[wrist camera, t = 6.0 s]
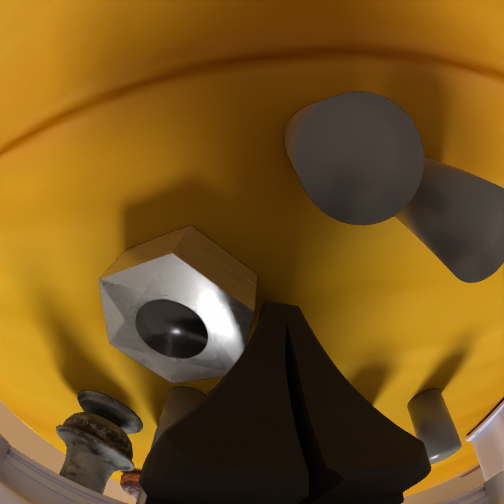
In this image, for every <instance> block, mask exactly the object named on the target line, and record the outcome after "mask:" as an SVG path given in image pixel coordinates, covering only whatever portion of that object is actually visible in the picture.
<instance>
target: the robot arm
mask: <svg viewBox="0 0 504 504" xmlns="http://www.w3.org/2000/svg"><path fill="white" fill-rule="evenodd" d="M466 441H472V444H473V446H474V449H475V452H476V455H477V458H478V461H479V463H480V466H481V470H482V473H483V476H484V479H485V483H484V484H482V485H480V486H478V487H476V488H473V489H471V490H469V491H467V492H464V493H462V494H459V495H457V496H455V497H452V498H450V499H447V500H444V501H442V502H439V503H436V504H504V400H503V401H502V402H501V404H500V405H499V406H498V407H497V408H496V409H495V410H494V411H493V412H492V413H491V414H490V415H489V416H488V417H487V418H486V419H485V420H484V421H483V422H482V423H481V424H480V425H479V426H478V427H477V428H476V429H475V430H474V431H473V432H472V433H471V434H470V435H468V436H467V437H466ZM430 471H431V465H430V461H429V458H428V454H427V451H426V447H425V445H424V442H422V441H421V440H419V439H418V438H416V437H414V436H413V435H411V434H410V433H408V432H406V431H405V430H403V429H402V428H400V427H399V426H397V425H396V424H395V423H393V422H392V421H391V420H389V419H388V418H387V417H385V416H384V415H383V414H382V413H380V412H379V411H378V410H377V409H376V408H374V407H373V406H372V405H371V404H370V403H369V402H368V401H367V400H366V399H365V398H364V397H363V396H362V395H361V394H360V393H359V392H358V391H357V390H356V389H355V388H354V387H353V386H352V385H351V384H350V383H349V382H348V380H347V379H346V378H345V377H344V376H343V375H342V374H341V372H340V371H339V370H338V369H337V367H336V366H335V365H334V363H333V362H332V361H331V359H330V358H329V356H328V355H327V354H326V352H325V351H324V349H323V347H322V346H321V344H320V343H319V341H318V340H317V338H316V336H315V335H314V333H313V331H312V330H311V328H310V326H309V325H308V323H307V321H306V319H305V317H304V316H303V314H302V312H301V310H300V309H299V307H298V306H294V305H287V304H281V303H275V302H268V301H266V302H264V303H263V305H262V309H261V313H260V318H259V322H258V325H257V327H256V329H255V331H254V333H253V335H252V337H251V339H250V341H249V343H248V344H247V346H246V347H245V349H244V351H243V352H242V354H241V355H240V357H239V358H238V360H237V361H236V363H235V364H234V365H233V367H232V368H231V369H230V371H229V372H228V373H227V374H226V375H225V377H224V378H223V379H222V380H221V381H220V382H219V384H218V385H217V386H216V387H215V388H214V389H213V390H212V391H211V392H210V393H209V394H208V395H207V396H206V397H205V398H204V399H203V400H202V401H201V402H200V403H198V404H197V405H196V406H195V407H194V408H193V409H192V410H191V411H190V412H188V413H187V414H186V415H185V416H183V417H182V418H181V419H179V420H178V421H177V422H175V423H174V424H173V425H171V426H170V427H169V428H167V429H166V430H165V431H164V432H163V434H162V435H161V436H160V438H159V439H158V440H157V442H156V443H155V444H154V446H153V447H152V449H151V450H150V452H149V454H148V455H147V457H146V460H145V462H144V464H143V467H142V471H141V474H140V478H139V484H140V485H141V487H142V489H143V490H144V492H145V493H146V495H147V497H146V501H145V504H401V503H403V501H404V498H403V493H402V492H404V491H405V490H407V489H409V488H410V487H412V486H414V485H415V484H417V483H418V482H420V481H421V480H423V479H424V478H425V477H426V476H427V475H428V474H429V473H430ZM0 504H127V503H124V502H121V501H118V500H116V499H113V498H110V497H108V496H105V495H103V494H100V493H98V492H95V491H93V490H91V489H88V488H86V487H84V486H81V485H79V484H77V483H75V482H73V481H71V480H69V479H67V478H65V477H63V476H61V475H59V474H57V473H55V472H53V471H51V470H49V469H48V468H46V467H44V466H42V465H41V464H39V463H37V462H36V461H34V460H32V459H31V458H29V457H27V456H26V455H24V454H23V453H21V452H20V451H18V450H17V449H15V448H14V447H12V446H11V445H10V444H9V443H8V441H7V440H6V439H5V438H4V437H3V436H1V435H0Z"/></svg>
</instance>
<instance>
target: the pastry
mask: <svg viewBox="0 0 504 504" xmlns="http://www.w3.org/2000/svg"><path fill="white" fill-rule="evenodd" d="M140 474H141V472H139V471H128V472H125V473H124V474H123V475H122V476H121V482H120V485H121V487H122V488H123V490H124V491H125V492H126V493H128V494H129V495H130V496H132V497H134V498H136V499H137V498H138V494H139V490H140V487H141V485H140V484H139V478H140Z"/></svg>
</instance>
